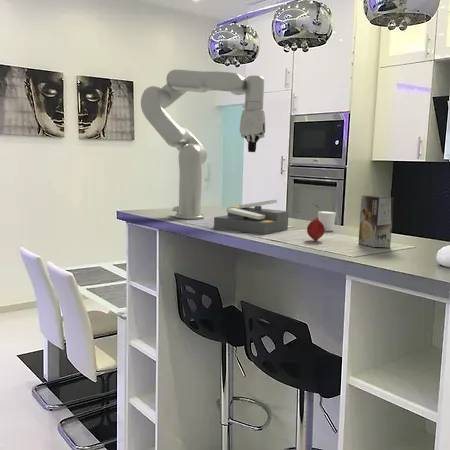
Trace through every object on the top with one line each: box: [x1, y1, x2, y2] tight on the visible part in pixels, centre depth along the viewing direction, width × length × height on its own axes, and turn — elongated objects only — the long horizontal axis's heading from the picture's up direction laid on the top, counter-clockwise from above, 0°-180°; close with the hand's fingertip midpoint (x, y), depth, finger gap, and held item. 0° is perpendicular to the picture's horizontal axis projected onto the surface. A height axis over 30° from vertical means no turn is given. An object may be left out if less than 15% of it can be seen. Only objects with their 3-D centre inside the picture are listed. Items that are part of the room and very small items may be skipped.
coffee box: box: [358, 194, 395, 248], centre depth 164 cm, size 9×6×16 cm
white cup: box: [317, 210, 337, 232], centre depth 197 cm, size 7×7×7 cm
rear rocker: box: [239, 199, 278, 208], centre depth 195 cm, size 14×5×1 cm, turn 56°
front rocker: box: [225, 207, 265, 219], centre depth 188 cm, size 14×5×1 cm, turn 56°
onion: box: [306, 216, 326, 242], centre depth 169 cm, size 6×6×8 cm
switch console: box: [213, 205, 290, 235], centre depth 192 cm, size 22×18×8 cm
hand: (251, 152), depth 210 cm, fingers closed
